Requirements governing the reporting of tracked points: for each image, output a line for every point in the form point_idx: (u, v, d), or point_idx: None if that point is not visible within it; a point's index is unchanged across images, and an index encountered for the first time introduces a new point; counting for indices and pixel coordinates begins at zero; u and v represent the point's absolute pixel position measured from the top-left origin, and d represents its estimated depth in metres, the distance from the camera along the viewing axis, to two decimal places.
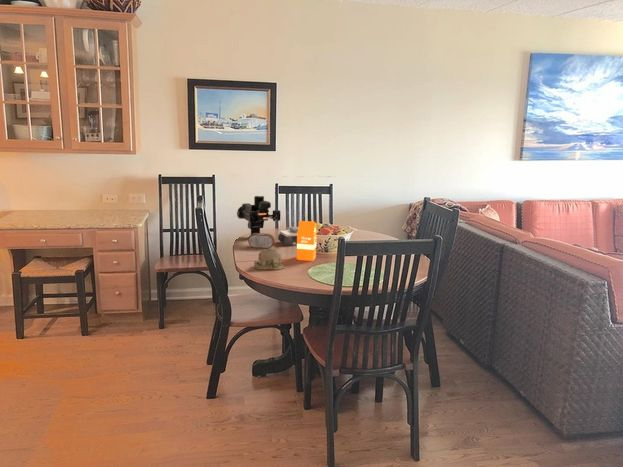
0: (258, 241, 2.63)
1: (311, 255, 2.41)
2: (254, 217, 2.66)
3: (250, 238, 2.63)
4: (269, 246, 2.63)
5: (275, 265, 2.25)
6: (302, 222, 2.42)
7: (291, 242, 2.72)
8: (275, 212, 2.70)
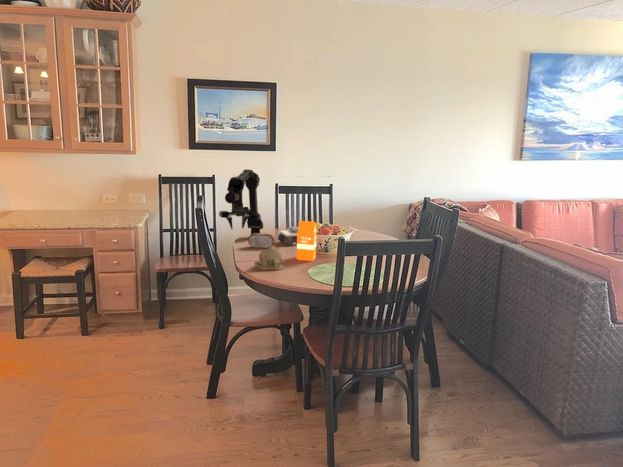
0: (258, 241, 2.63)
1: (311, 255, 2.41)
2: None
3: (250, 238, 2.63)
4: (269, 246, 2.63)
5: (276, 265, 2.24)
6: (302, 222, 2.42)
7: (291, 242, 2.72)
8: (245, 218, 2.55)
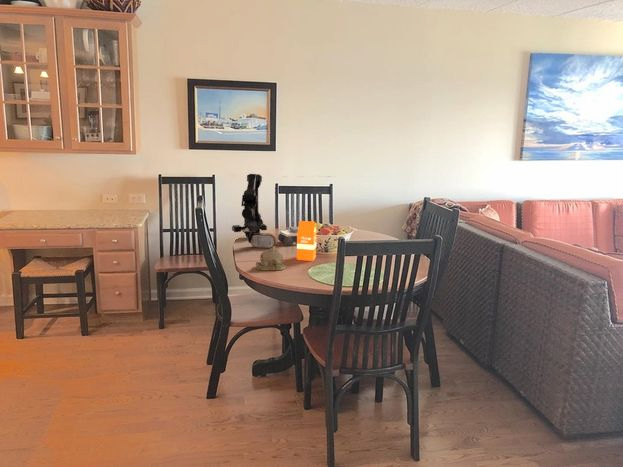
0: (260, 241, 2.63)
1: (311, 255, 2.41)
2: None
3: (252, 238, 2.64)
4: (271, 246, 2.63)
5: (277, 265, 2.24)
6: (302, 222, 2.42)
7: (291, 242, 2.72)
8: (252, 232, 2.59)
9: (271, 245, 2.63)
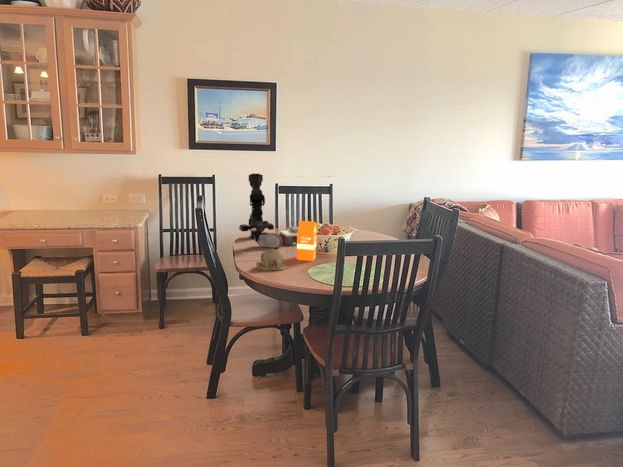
0: (266, 240, 2.65)
1: (311, 255, 2.41)
2: None
3: None
4: (276, 246, 2.64)
5: (278, 266, 2.24)
6: (302, 222, 2.42)
7: (291, 242, 2.72)
8: (260, 232, 2.60)
9: (277, 245, 2.63)
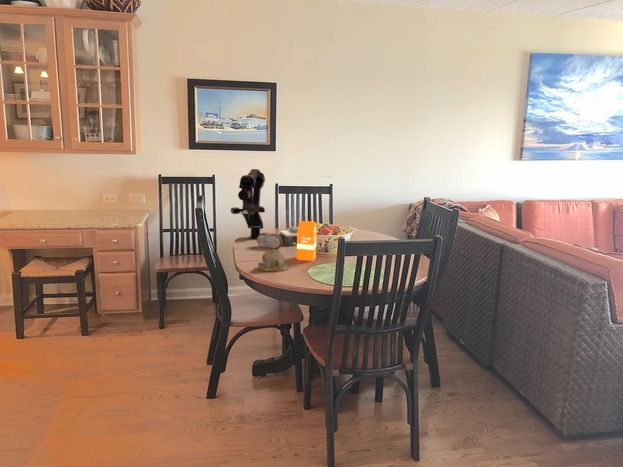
0: (266, 241, 2.64)
1: (311, 255, 2.41)
2: None
3: (258, 237, 2.65)
4: (276, 246, 2.64)
5: (280, 266, 2.23)
6: (302, 222, 2.42)
7: (291, 242, 2.72)
8: (251, 214, 2.65)
9: (277, 245, 2.63)
